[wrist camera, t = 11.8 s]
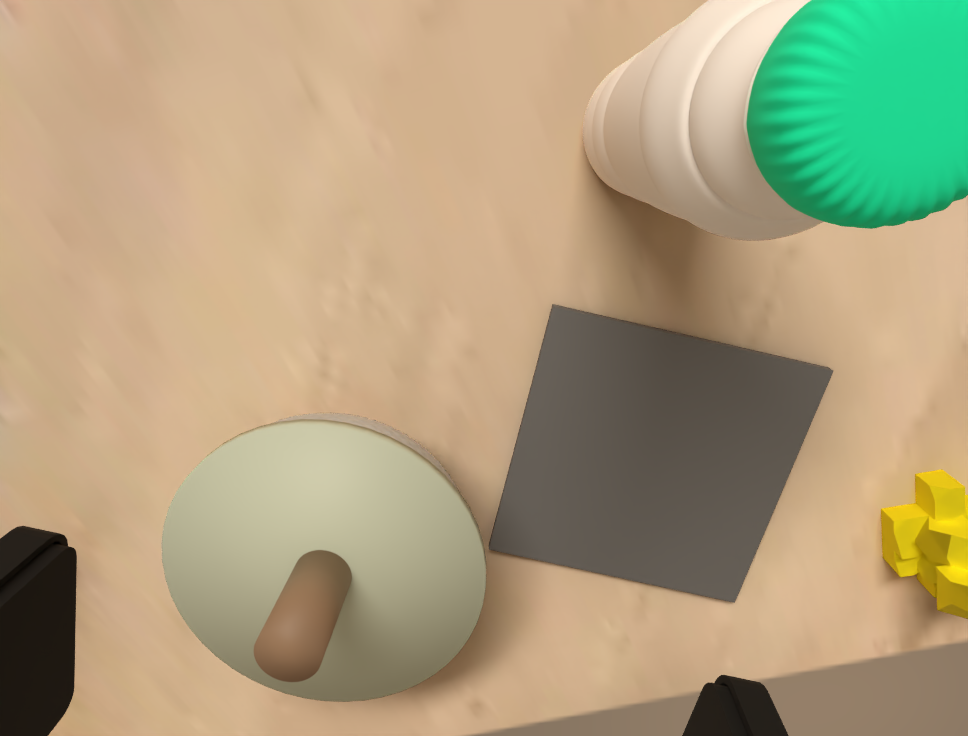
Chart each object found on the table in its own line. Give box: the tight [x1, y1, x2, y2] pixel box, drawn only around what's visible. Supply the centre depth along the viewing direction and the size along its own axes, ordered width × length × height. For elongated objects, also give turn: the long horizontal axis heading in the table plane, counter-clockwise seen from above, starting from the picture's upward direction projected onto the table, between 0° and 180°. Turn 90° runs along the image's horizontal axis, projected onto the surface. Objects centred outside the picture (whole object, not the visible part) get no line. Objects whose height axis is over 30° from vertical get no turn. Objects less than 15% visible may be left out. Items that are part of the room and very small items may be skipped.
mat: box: [489, 304, 833, 603], centre depth 41 cm, size 17×17×1 cm
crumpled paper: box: [881, 470, 968, 619], centre depth 39 cm, size 6×8×8 cm
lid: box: [162, 419, 486, 702], centre depth 34 cm, size 18×18×7 cm
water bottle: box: [583, 0, 968, 240], centre depth 23 cm, size 7×7×25 cm
